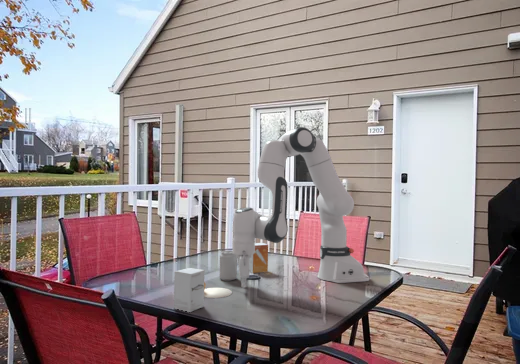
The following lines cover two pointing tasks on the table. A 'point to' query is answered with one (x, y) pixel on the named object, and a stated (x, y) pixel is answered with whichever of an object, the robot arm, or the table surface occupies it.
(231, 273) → the can
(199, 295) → the supplement box
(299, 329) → the table surface
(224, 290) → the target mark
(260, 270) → the small box
